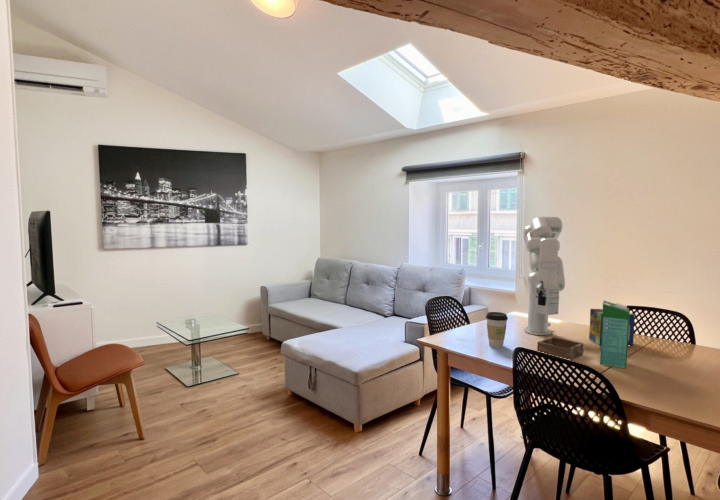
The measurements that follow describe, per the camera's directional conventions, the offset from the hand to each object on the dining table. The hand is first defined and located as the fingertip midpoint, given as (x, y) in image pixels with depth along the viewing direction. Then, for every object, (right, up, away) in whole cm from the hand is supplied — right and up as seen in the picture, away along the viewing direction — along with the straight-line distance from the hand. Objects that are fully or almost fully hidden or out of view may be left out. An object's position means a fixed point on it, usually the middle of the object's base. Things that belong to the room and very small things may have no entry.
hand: (546, 304), depth 184 cm
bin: (+3, -21, -5) cm, 22 cm away
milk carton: (+20, -22, -17) cm, 34 cm away
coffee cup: (-21, -20, +6) cm, 30 cm away
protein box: (+35, -20, +10) cm, 42 cm away
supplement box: (0, -4, 0) cm, 4 cm away
